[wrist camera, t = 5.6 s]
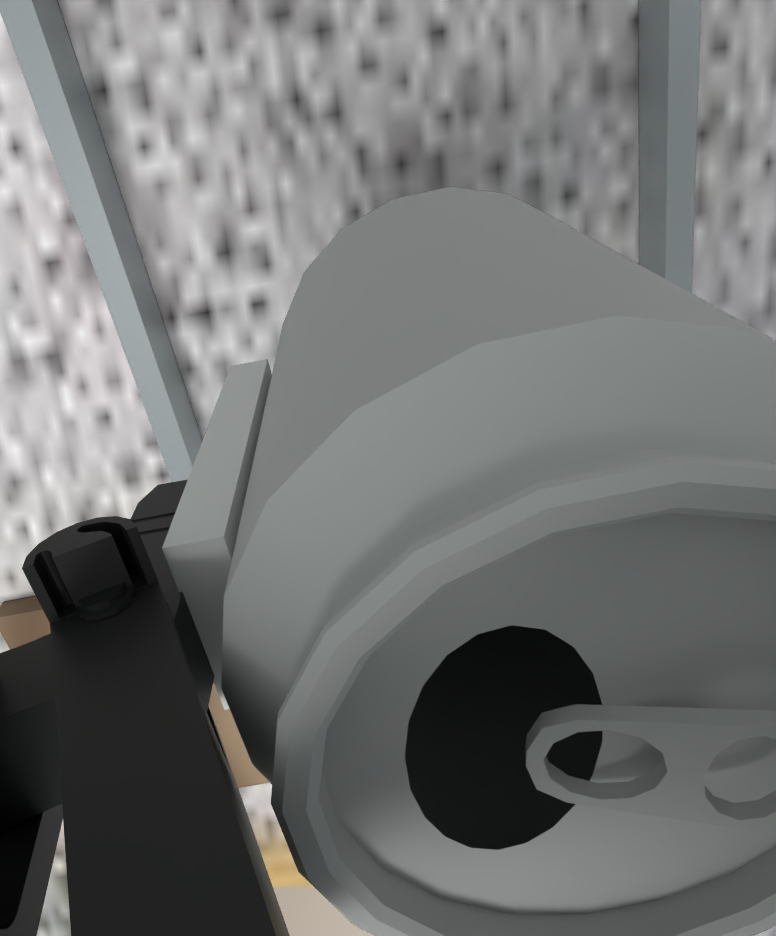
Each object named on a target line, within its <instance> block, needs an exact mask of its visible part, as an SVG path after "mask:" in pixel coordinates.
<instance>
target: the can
mask: <svg viewBox="0 0 776 936" xmlns="http://www.w3.org/2000/svg"><path fill="white" fill-rule="evenodd" d="M221 689H222V691H223V694H224V696H225V699H226V701H227V704H228V706H229V708H230V711H231V713H232V716H233V718H234V721H235V723H236V726H237V728H238V731H239V733H240V735H241V738H242V740H243V743H244V745H245V748H246V750H247V753H248V755H249V757H250V760H251V762H252V764H253V765H254V766H255V768H256V769H257V770H258V771H259V772H260V773H261V774H262V775H263V776H264V777H265V778H266V779H267V780H268V781H269V782H270V783H271V784H272V796H271V805H272V807H273V810H274V812H275V815H276V817H277V820H278V822H279V825H280V827H281V829H282V832H283V834H284V837H285V839H286V842H287V844H288V847H289V849H290V852H291V854H292V857H293V859H294V862H295V864H296V867H297V869H298V871H299V873H300V874H302V875H303V876H304V877H305V878H306V879H307V880H308V881H309V882H310V883H311V884H312V885H313V886H314V887H315V888H316V889H317V890H318V891H319V892H320V893H321V894H322V895H323V896H324V897H325V898H326V899H327V900H328V901H329V902H331V904H332V905H334V906H335V907H336V908H337V909H338V910H339V911H340V912H341V913H342V914H343V915H344V916H345V917H346V918H347V919H348V920H349V921H350V922H351V923H352V924H354V925H355V926H357V927H358V928H360V929H362V930H364V931H366V932H368V933H370V934H372V935H374V936H752V935H755V934H757V933H760V932H763V931H766V930H768V929H770V928H771V927H773V926H775V925H776V340H774V339H772V338H771V337H769V336H767V335H765V334H763V333H762V332H760V331H758V330H756V329H754V328H753V327H751V326H749V325H747V324H745V323H743V322H742V321H740V320H738V319H736V318H734V317H733V316H731V315H729V314H727V313H725V312H724V311H722V310H720V309H718V308H716V307H715V306H713V305H711V304H709V303H707V302H706V301H704V300H702V299H700V298H698V297H697V296H695V295H693V294H691V293H689V292H688V291H686V290H684V289H682V288H680V287H678V286H677V285H675V284H673V283H671V282H669V281H668V280H666V279H664V278H662V277H660V276H659V275H657V274H655V273H653V272H651V271H650V270H648V269H646V268H644V267H642V266H641V265H639V264H637V263H635V262H633V261H632V260H630V259H628V258H626V257H624V256H623V255H621V254H619V253H617V252H615V251H613V250H612V249H610V248H608V247H606V246H604V245H603V244H601V243H599V242H597V241H595V240H594V239H592V238H590V237H588V236H586V235H585V234H583V233H581V232H579V231H577V230H576V229H574V228H572V227H570V226H568V225H567V224H565V223H563V222H561V221H559V220H557V219H556V218H554V217H552V216H550V215H548V214H546V213H544V212H542V211H540V210H538V209H536V208H534V207H532V206H530V205H528V204H527V203H525V202H523V201H521V200H519V199H517V198H515V197H513V196H511V195H509V194H504V193H497V192H489V191H481V190H473V189H466V188H458V187H447V188H442V189H437V190H432V191H428V192H423V193H418V194H413V195H409V196H404V197H399V198H395V199H392V200H390V201H388V202H387V203H385V204H383V205H382V206H380V207H378V208H376V209H375V210H373V211H371V212H370V213H368V214H366V215H365V216H363V217H361V218H360V219H358V220H356V221H355V222H353V223H351V224H349V225H348V226H346V227H344V228H343V229H341V231H340V232H339V233H338V234H337V235H336V236H335V237H334V239H333V240H332V241H331V242H330V243H329V244H328V246H327V247H326V248H325V249H324V250H323V251H322V252H321V254H320V255H319V256H318V257H317V258H316V259H315V261H314V262H313V263H312V264H311V265H310V266H309V267H308V269H307V270H306V271H305V272H304V274H303V276H302V279H301V281H300V284H299V286H298V289H297V291H296V293H295V296H294V298H293V301H292V303H291V306H290V308H289V310H288V313H287V315H286V318H285V320H284V323H283V326H282V331H281V336H280V340H279V345H278V349H277V354H276V359H275V363H274V368H273V372H272V377H271V382H270V386H269V391H268V396H267V400H266V405H265V409H264V414H263V419H262V423H261V428H260V432H259V437H258V442H257V446H256V451H255V455H254V460H253V465H252V469H251V474H250V479H249V483H248V488H247V492H246V497H245V502H244V506H243V511H242V515H241V520H240V525H239V529H238V534H237V538H236V543H235V548H234V552H233V557H232V562H231V566H230V571H229V575H228V580H227V585H226V589H225V594H224V605H223V641H222V678H221Z"/></svg>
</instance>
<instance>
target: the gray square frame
mask: <svg viewBox="0 0 776 936" xmlns="http://www.w3.org/2000/svg"><path fill="white" fill-rule="evenodd" d="M0 12H1V15H2V18H3V21H4V23H5V26H6V29H7V32H8V34H9V37H10V40H11V42H12V45H13V48H14V51H15V53H16V56H17V59H18V62H19V64H20V67H21V70H22V73H23V75H24V78H25V81H26V84H27V86H28V89H29V92H30V95H31V97H32V100H33V103H34V106H35V108H36V111H37V114H38V116H39V119H40V122H41V125H42V127H43V130H44V133H45V136H46V138H47V141H48V144H49V147H50V149H51V152H52V155H53V158H54V160H55V163H56V166H57V169H58V171H59V174H60V177H61V180H62V182H63V185H64V188H65V190H66V193H67V196H68V199H69V201H70V204H71V207H72V210H73V212H74V215H75V218H76V221H77V223H78V226H79V229H80V232H81V234H82V237H83V240H84V243H85V245H86V248H87V251H88V254H89V256H90V259H91V262H92V264H93V267H94V270H95V273H96V275H97V278H98V281H99V284H100V286H101V289H102V292H103V295H104V297H105V300H106V303H107V306H108V308H109V311H110V314H111V317H112V319H113V322H114V325H115V328H116V330H117V333H118V336H119V338H120V341H121V344H122V347H123V349H124V352H125V355H126V358H127V360H128V363H129V366H130V369H131V371H132V374H133V377H134V380H135V382H136V385H137V388H138V391H139V393H140V396H141V399H142V402H143V404H144V407H145V410H146V412H147V415H148V418H149V421H150V423H151V426H152V429H153V432H154V434H155V437H156V440H157V443H158V445H159V448H160V451H161V454H162V456H163V459H164V462H165V465H166V467H167V470H168V473H169V476H170V478H171V481H172V482H177V481H182V480H188V478H189V475H190V473H191V470H192V467H193V465H194V462H195V459H196V457H197V454H198V451H199V449H200V446H201V443H202V438H201V434H200V431H199V428H198V425H197V422H196V419H195V416H194V413H193V410H192V407H191V404H190V401H189V398H188V395H187V392H186V389H185V386H184V383H183V380H182V377H181V374H180V371H179V368H178V365H177V362H176V359H175V356H174V353H173V350H172V347H171V344H170V341H169V338H168V335H167V332H166V329H165V326H164V323H163V320H162V316H161V313H160V310H159V307H158V304H157V301H156V298H155V295H154V292H153V289H152V286H151V283H150V280H149V277H148V274H147V271H146V268H145V265H144V262H143V259H142V256H141V253H140V250H139V247H138V244H137V241H136V238H135V235H134V232H133V229H132V226H131V223H130V220H129V217H128V214H127V211H126V208H125V205H124V202H123V198H122V195H121V192H120V189H119V186H118V183H117V180H116V177H115V174H114V171H113V168H112V165H111V162H110V159H109V156H108V153H107V150H106V147H105V144H104V141H103V138H102V135H101V132H100V129H99V126H98V123H97V120H96V117H95V114H94V111H93V108H92V105H91V102H90V99H89V96H88V93H87V90H86V87H85V84H84V80H83V77H82V74H81V71H80V68H79V65H78V62H77V59H76V56H75V53H74V50H73V47H72V44H71V41H70V38H69V35H68V32H67V29H66V26H65V23H64V20H63V17H62V14H61V11H60V8H59V5H58V2H57V0H0ZM700 20H701V0H639V265H641V266H642V267H644V268H646V269H648V270H650V271H651V272H653V273H655V274H657V275H659V276H660V277H662V278H664V279H666V280H668V281H669V282H671V283H673V284H675V285H677V286H678V287H680V288H682V289H684V290H686V291H688V292H689V293H691V294H692V264H693V234H694V203H695V173H696V142H697V112H698V81H699V51H700Z"/></svg>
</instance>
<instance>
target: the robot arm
mask: <svg viewBox="0 0 776 936" xmlns="http://www.w3.org/2000/svg"><path fill="white" fill-rule="evenodd" d="M271 377H272V374H271V370H270V366H269V363H268V359H266V360H261V361H255V362H250V363H245V364H239V365H234V366H231V367H230V369H229V372H228V375H227V377H226V380H225V382H224V385H223V388H222V390H221V393H220V396H219V398H218V401H217V404H216V406H215V409H214V412H213V414H212V417H211V420H210V422H209V425H208V428H207V430H206V433H205V436H204V438H203V441H202V443H201V446H200V449H199V451H198V454H197V457H196V459H195V462H194V465H193V467H192V470H191V473H190V475H189V478H188V480H182V481H177V482H171V483H166V484H161V485H157V486H156V487H155V488H154V489H153V490H152V491H151V492H150V493H149V494H148V495H146V496H145V497H144V498H143V499H142V500H141V501H140V502H139V503H138V505H137V507H136V509H135V511H134V513H133V515H132V517H131V519H126V518H122V517H117V516H113V517H100V518H95V519H91V520H87V521H83V522H80V523H76V524H74V525H72V526H70V527H67V528H65V529H63V530H61V531H58V532H56V533H55V534H53V535H52V536H50V537H48V538H47V539H45V540H44V541H42V542H41V543H39V544H38V545H37V546H36V547H35V548H34V549H33V550H32V551H31V552H30V553H29V554H28V555H27V557H26V559H25V562H24V564H23V567H22V569H23V571H24V573H25V575H26V577H27V579H28V581H29V583H30V585H31V587H32V589H33V591H34V593H35V595H36V597H37V599H38V601H39V603H40V605H41V607H42V609H43V611H44V613H45V615H46V617H47V619H48V621H49V623H50V632H51V633H50V634H48V635H45V636H43V637H41V638H39V639H36V640H34V641H32V642H29V643H26V644H24V645H21V646H19V647H16V648H13V649H11V650H8V651H5V652H3V653H0V936H36V935H37V930H38V926H39V921H40V917H41V913H42V908H43V904H44V899H45V895H46V890H47V886H48V882H49V877H50V873H51V868H52V864H53V859H54V855H55V851H56V846H57V842H58V837H59V833H60V828H61V824H62V820H63V821H64V836H65V851H66V865H67V880H68V894H69V909H70V923H71V936H289V933H288V930H287V927H286V924H285V921H284V918H283V915H282V913H281V910H280V907H279V904H278V901H277V898H276V895H275V893H274V890H273V887H272V884H271V881H270V878H269V875H268V872H267V870H266V867H265V864H264V861H263V858H262V855H261V852H260V850H259V847H258V844H257V841H256V838H255V835H254V832H253V829H252V827H251V824H250V821H249V818H248V815H247V812H246V809H245V807H244V804H243V801H242V798H241V795H240V792H239V789H238V787H237V784H236V781H235V778H234V775H233V772H232V769H231V766H230V764H229V761H228V758H227V755H226V752H225V749H224V746H223V744H222V741H221V738H220V735H219V732H218V729H217V727H216V724H215V722H214V719H213V717H212V714H211V712H210V709H209V707H208V705H209V700H210V696H211V691H212V686H213V682H214V684H215V687H216V689H217V692H218V694H219V697H220V700H221V702H222V705H223V707H224V710H227V709H230V708H229V706H228V704H227V701H226V699H225V696H224V694H223V691H222V689H221V678H222V641H223V605H224V594H225V589H226V585H227V580H228V575H229V571H230V566H231V562H232V557H233V552H234V548H235V543H236V538H237V534H238V529H239V525H240V520H241V515H242V511H243V506H244V502H245V497H246V492H247V488H248V483H249V479H250V474H251V469H252V465H253V460H254V455H255V451H256V446H257V442H258V437H259V432H260V428H261V423H262V419H263V414H264V409H265V405H266V400H267V396H268V391H269V386H270V382H271Z"/></svg>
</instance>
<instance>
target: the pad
mask: <svg viewBox="0 0 776 936" xmlns="http://www.w3.org/2000/svg"><path fill="white" fill-rule="evenodd" d="M0 632H1V634H2V636H3V637H4V639H5V641H6V643H7V645H8V646H9V648H10V650H11V649H13V648H16V647H19V646H21V645H24V644H26V643H29V642H32V641H34V640H36V639H39V638H41V637H43V636H45V635H48V634H50V633H51V632H50V623H49V621H48V619H47V617H46V615H45V613H44V611H43V609H42V607H41V605H40V603H39V601H38V599H37V597H36V596H34V597H28V598H23V599H17V600H12V601H7V602H3V603H2V605H1V607H0ZM208 707H209V709H210V712H211V714H212V717H213V719H214V722H215V724H216V727H217V729H218V732H219V735H220V738H221V741H222V744H223V746H224V749H225V752H226V755H227V758H228V761H229V764H230V766H231V769H232V772H233V775H234V778H235V781H236V784H237V787H238V788H242V787H247V786H253V785H258V784H264V783H269V781H268V780H267V779H266V778H265V777H264V776H263V775H262V774H261V773H260V772H259V771H258V770H257V769H256V768H255V766H254V765H253V764H252V762H251V760H250V757H249V755H248V753H247V750H246V748H245V745H244V743H243V740H242V738H241V735H240V733H239V731H238V728H237V726H236V723H235V721H234V718H233V716H232V713H231V711H230V709H227V710H224V707H223V705H222V702H221V700H220V697H219V694H218V692H217V689H216V687H215V684H214V682H213V686H212V691H211V696H210V700H209V705H208Z"/></svg>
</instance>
